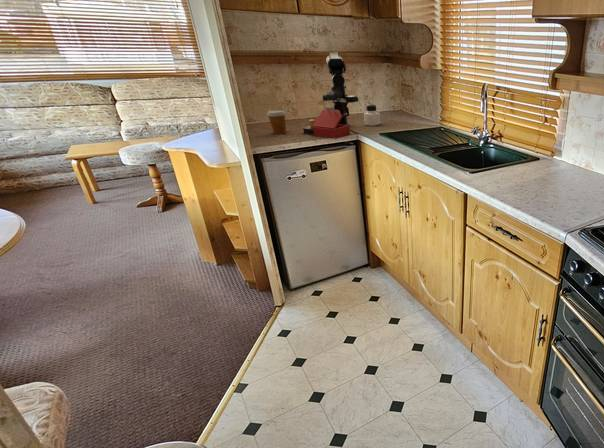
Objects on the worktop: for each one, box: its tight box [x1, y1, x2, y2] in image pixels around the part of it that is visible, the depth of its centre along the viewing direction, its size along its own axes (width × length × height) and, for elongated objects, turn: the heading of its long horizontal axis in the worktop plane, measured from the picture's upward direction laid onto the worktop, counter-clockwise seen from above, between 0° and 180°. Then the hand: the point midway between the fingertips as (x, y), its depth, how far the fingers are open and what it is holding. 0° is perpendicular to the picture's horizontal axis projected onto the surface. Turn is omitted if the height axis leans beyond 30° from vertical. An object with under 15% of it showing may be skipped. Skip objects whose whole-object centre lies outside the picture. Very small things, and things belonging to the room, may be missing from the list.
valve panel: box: [302, 125, 314, 136], centre depth 232 cm, size 10×9×3 cm
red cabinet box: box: [313, 124, 351, 139], centre depth 227 cm, size 13×15×5 cm
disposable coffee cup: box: [266, 109, 287, 135], centre depth 228 cm, size 10×10×12 cm
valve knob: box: [308, 118, 317, 128], centre depth 231 cm, size 4×4×4 cm
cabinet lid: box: [313, 105, 346, 129], centre depth 222 cm, size 13×15×5 cm
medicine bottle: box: [363, 104, 382, 127], centre depth 253 cm, size 7×7×12 cm
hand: (342, 115), depth 216 cm, fingers closed
